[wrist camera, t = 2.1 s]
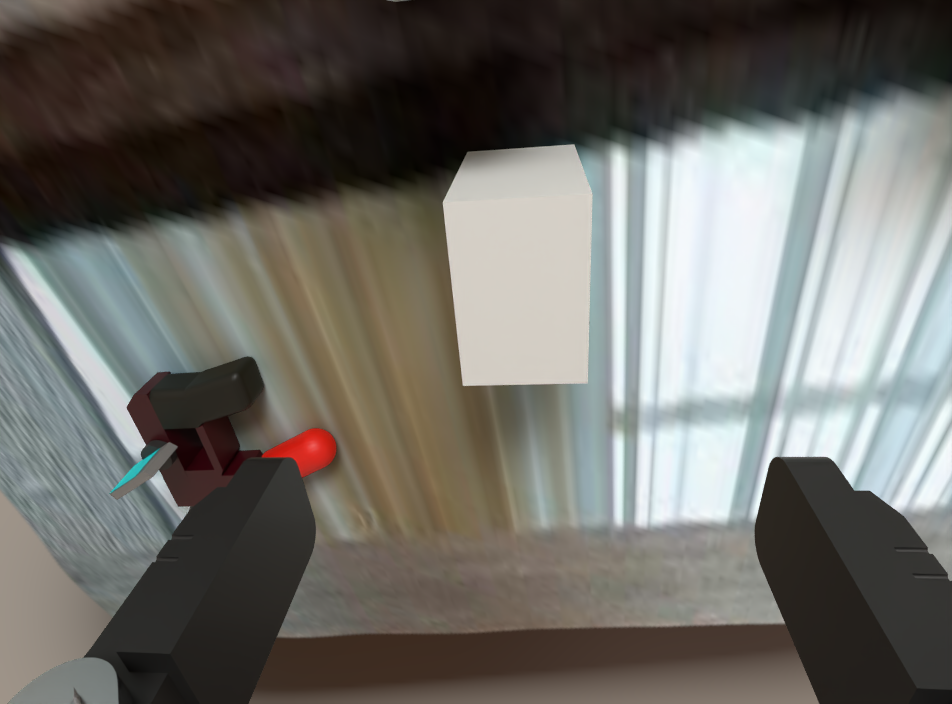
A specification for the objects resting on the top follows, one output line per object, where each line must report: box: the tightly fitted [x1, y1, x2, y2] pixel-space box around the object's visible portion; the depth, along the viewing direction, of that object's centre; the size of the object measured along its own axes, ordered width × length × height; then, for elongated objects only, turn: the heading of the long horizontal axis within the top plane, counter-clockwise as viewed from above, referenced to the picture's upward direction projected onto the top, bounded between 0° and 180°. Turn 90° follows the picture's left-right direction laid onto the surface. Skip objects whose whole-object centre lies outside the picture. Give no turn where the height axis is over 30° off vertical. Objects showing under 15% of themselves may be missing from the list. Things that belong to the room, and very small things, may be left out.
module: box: [443, 145, 592, 386], centre depth 19 cm, size 4×6×7 cm, turn 4°
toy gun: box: [109, 357, 336, 509], centre depth 28 cm, size 10×12×5 cm
